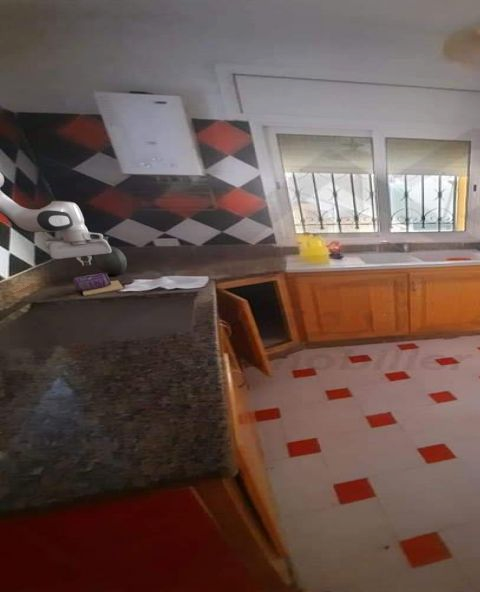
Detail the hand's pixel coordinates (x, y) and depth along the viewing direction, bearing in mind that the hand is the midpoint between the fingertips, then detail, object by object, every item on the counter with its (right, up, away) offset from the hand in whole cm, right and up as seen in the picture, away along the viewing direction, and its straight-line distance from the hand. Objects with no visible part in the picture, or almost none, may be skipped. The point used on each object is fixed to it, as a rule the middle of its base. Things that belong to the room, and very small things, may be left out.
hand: (87, 265), depth 152 cm
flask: (-15, -3, +30) cm, 33 cm away
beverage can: (-4, -10, -2) cm, 11 cm away
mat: (+1, -11, +6) cm, 13 cm away
